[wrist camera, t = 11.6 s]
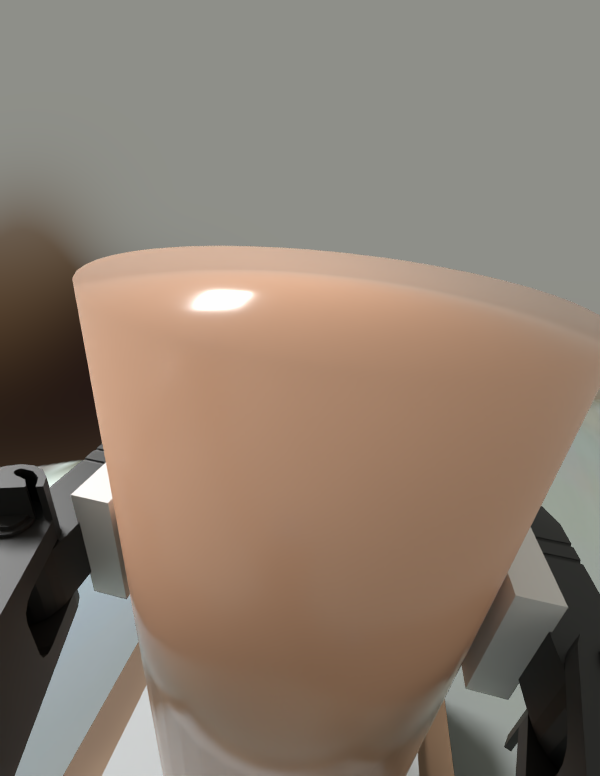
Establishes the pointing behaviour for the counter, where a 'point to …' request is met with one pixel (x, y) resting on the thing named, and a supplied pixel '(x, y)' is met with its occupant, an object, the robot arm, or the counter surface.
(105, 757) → the walnut base
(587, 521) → the counter surface
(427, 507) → the peach glossy cylinder
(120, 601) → the counter surface
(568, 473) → the counter surface
